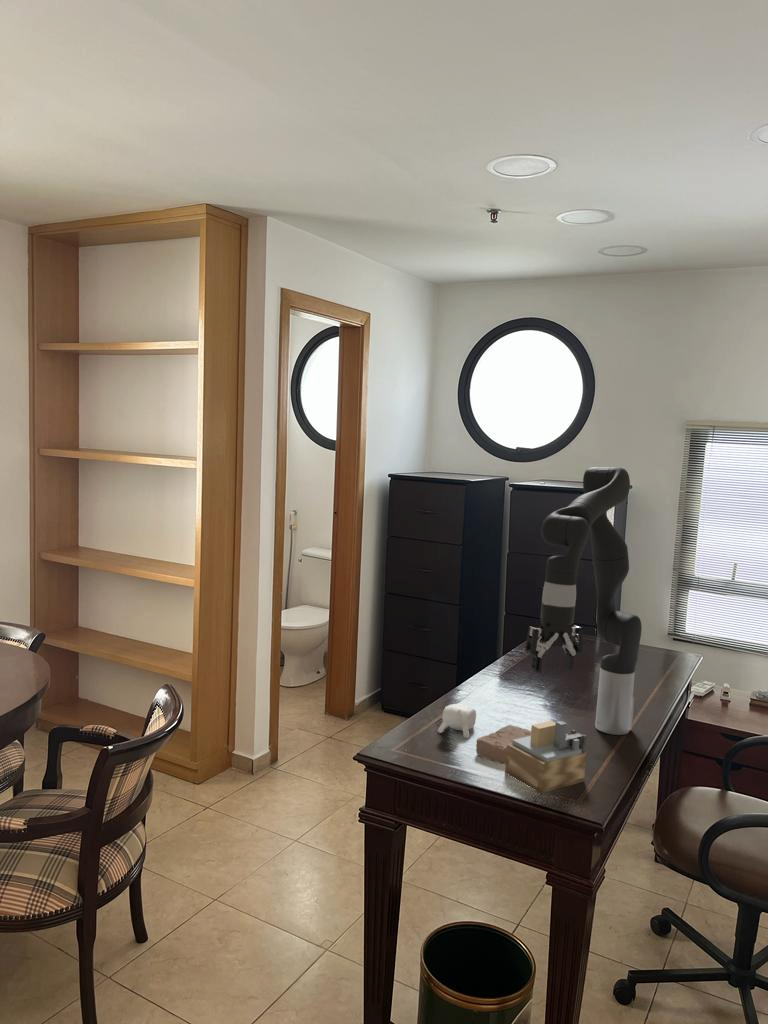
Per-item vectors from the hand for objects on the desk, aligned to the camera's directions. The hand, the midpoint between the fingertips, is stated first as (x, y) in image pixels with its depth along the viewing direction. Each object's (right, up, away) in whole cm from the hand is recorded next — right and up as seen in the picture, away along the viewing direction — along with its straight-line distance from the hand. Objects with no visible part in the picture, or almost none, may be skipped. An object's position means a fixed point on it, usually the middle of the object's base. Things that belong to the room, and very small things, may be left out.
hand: (552, 671), depth 181 cm
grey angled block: (+4, -18, +3) cm, 18 cm away
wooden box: (-1, -26, +4) cm, 26 cm away
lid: (0, -19, +4) cm, 19 cm away
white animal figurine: (-19, -23, +29) cm, 42 cm away
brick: (-8, -25, +19) cm, 32 cm away
